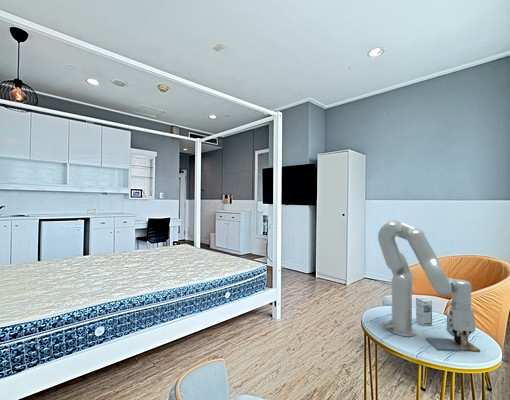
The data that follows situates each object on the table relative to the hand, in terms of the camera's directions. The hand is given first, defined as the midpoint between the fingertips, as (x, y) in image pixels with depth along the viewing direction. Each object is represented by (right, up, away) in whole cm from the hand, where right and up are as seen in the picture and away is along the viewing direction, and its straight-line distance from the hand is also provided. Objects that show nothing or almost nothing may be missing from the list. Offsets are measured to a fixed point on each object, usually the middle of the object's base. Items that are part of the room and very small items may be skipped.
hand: (460, 343), depth 127 cm
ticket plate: (-8, -1, 0) cm, 9 cm away
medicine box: (+7, -2, +13) cm, 14 cm away
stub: (+1, -1, 0) cm, 2 cm away
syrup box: (-3, -2, +24) cm, 24 cm away
